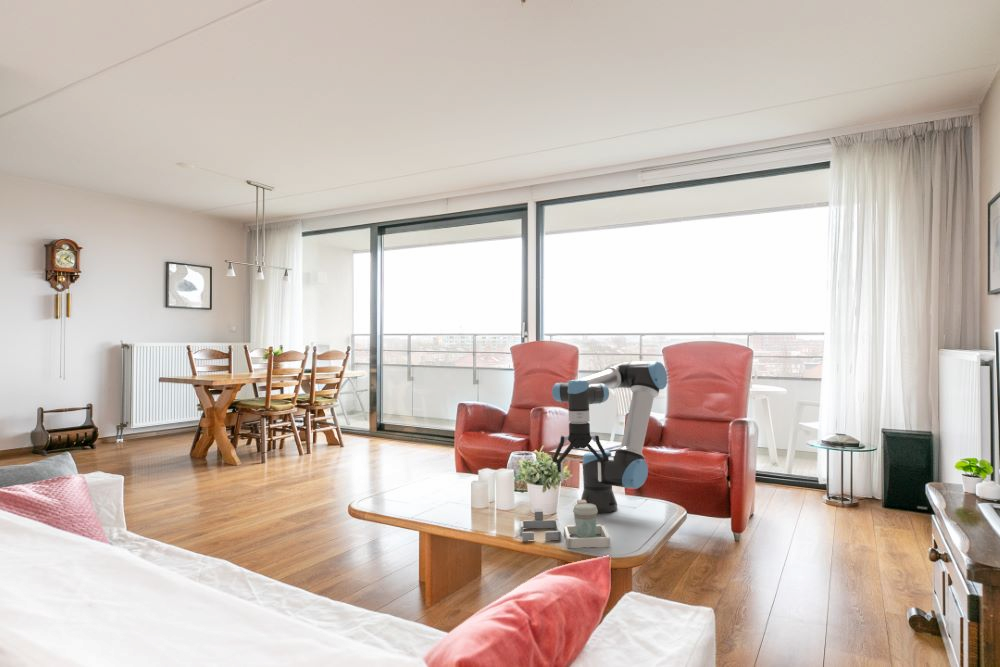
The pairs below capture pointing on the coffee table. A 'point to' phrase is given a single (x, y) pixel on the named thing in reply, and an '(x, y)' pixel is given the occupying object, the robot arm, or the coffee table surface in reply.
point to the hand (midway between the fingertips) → (580, 481)
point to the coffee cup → (585, 519)
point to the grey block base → (540, 524)
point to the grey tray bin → (586, 542)
